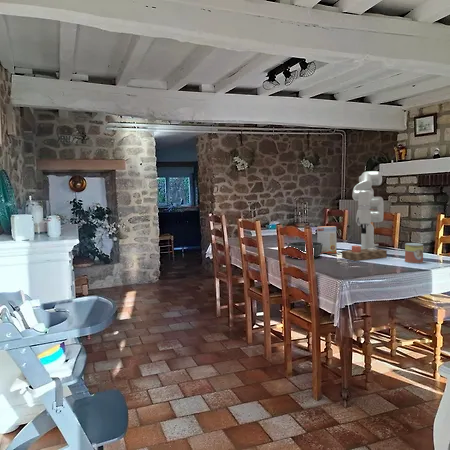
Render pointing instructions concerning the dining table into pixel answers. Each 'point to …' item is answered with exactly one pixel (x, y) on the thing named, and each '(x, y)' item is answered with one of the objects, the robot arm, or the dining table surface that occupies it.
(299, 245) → the bundt pan
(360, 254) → the block
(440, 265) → the dining table surface
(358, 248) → the salmon pink cube
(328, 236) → the cracker box
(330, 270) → the dining table surface
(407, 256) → the canned food
